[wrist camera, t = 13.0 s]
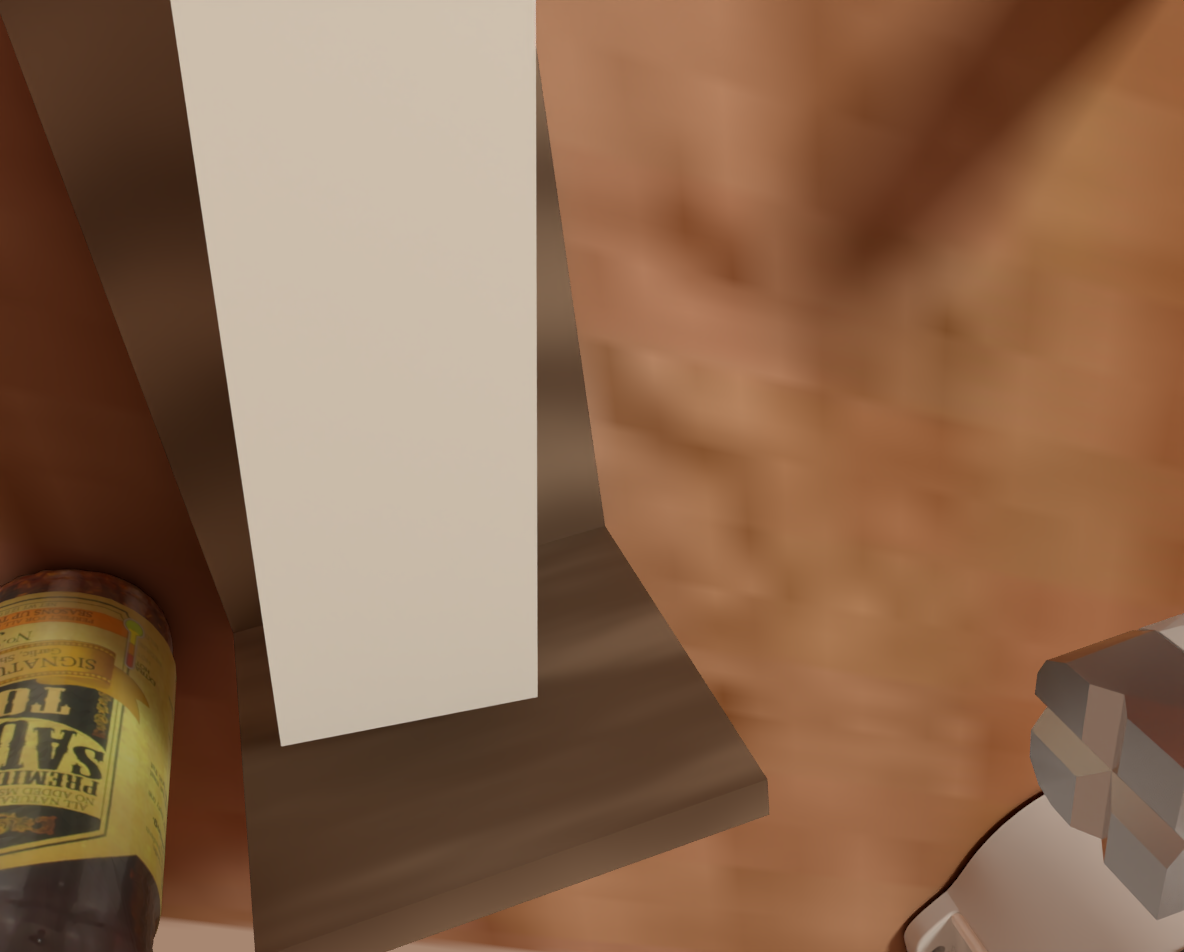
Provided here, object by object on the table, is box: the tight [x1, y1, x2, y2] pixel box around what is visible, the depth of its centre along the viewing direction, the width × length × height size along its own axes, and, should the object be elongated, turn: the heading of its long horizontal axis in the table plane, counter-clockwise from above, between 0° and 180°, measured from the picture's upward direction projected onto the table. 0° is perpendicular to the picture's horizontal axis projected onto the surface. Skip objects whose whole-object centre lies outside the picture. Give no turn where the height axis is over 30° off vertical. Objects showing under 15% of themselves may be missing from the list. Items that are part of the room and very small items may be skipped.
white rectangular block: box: [170, 0, 538, 746], centre depth 23 cm, size 20×6×4 cm, turn 179°
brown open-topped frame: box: [0, 0, 769, 952], centre depth 24 cm, size 27×12×14 cm, turn 8°
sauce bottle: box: [0, 569, 177, 952], centre depth 25 cm, size 6×6×20 cm
